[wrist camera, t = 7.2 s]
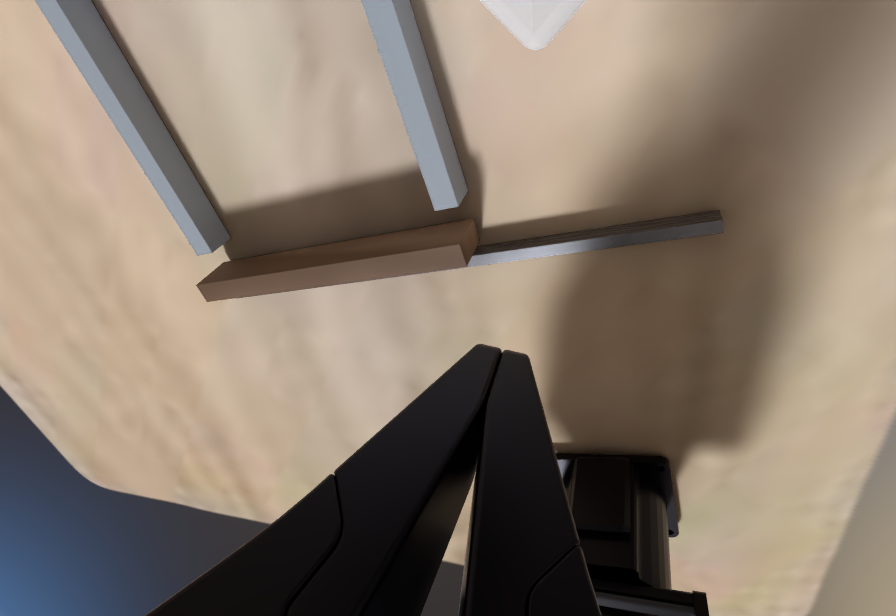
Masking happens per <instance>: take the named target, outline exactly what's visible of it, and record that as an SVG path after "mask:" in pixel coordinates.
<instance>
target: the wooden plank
mask: <svg viewBox="0 0 896 616" xmlns="http://www.w3.org/2000/svg"><path fill="white" fill-rule="evenodd" d="M479 241H480V238H479V235H478V232H477V229H476V226H475V222H474V219H468V220H462V221H457V222H451V223H445V224H440V225H434V226H428V227H422V228H417V229H411V230H405V231H399V232H394V233H388V234H382V235H377V236H371V237H365V238H359V239H354V240H348V241H342V242H337V243H331V244H325V245H319V246H314V247H308V248H302V249H297V250H291V251H285V252H279V253H274V254H268V255H262V256H257V257H251V258H245V259H239V260H234V261H228V262H223V263H222V264H221V265H220V266H219V267H217V268H216V269H215V270H214V271H213V272H211V273H210V274H209V275H208V276H207V277H205V278H204V279H203V280H202V281H201V282H199V283H198V284H197V285H196V286H197V287H198V289H199V290H200V292H201V293H202V295H203V296H204V298H205V299H206V301H207V302H210V301H217V300H225V299H232V298H240V297H247V296H254V295H262V294H269V293H277V292H284V291H292V290H299V289H306V288H314V287H321V286H329V285H336V284H343V283H351V282H358V281H366V280H373V279H380V278H388V277H395V276H403V275H410V274H417V273H425V272H432V271H440V270H447V269H454V268H462V267H467V266H468V264H469V261H470V259H471V257H472V255H473V253H474V251H475V249H476V247H477V245H478V243H479Z"/></svg>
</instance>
